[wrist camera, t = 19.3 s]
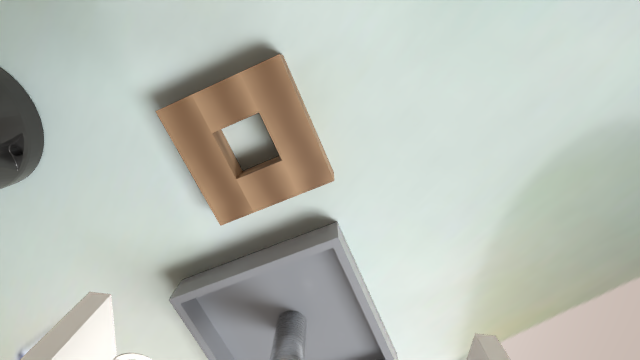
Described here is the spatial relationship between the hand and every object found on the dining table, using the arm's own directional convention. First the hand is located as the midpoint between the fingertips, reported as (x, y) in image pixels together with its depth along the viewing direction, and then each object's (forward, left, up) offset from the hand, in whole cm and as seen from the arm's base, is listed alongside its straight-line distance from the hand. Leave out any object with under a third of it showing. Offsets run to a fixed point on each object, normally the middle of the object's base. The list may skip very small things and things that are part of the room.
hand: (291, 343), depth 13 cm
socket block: (-6, +4, -29) cm, 29 cm away
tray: (-12, -20, -29) cm, 37 cm away
